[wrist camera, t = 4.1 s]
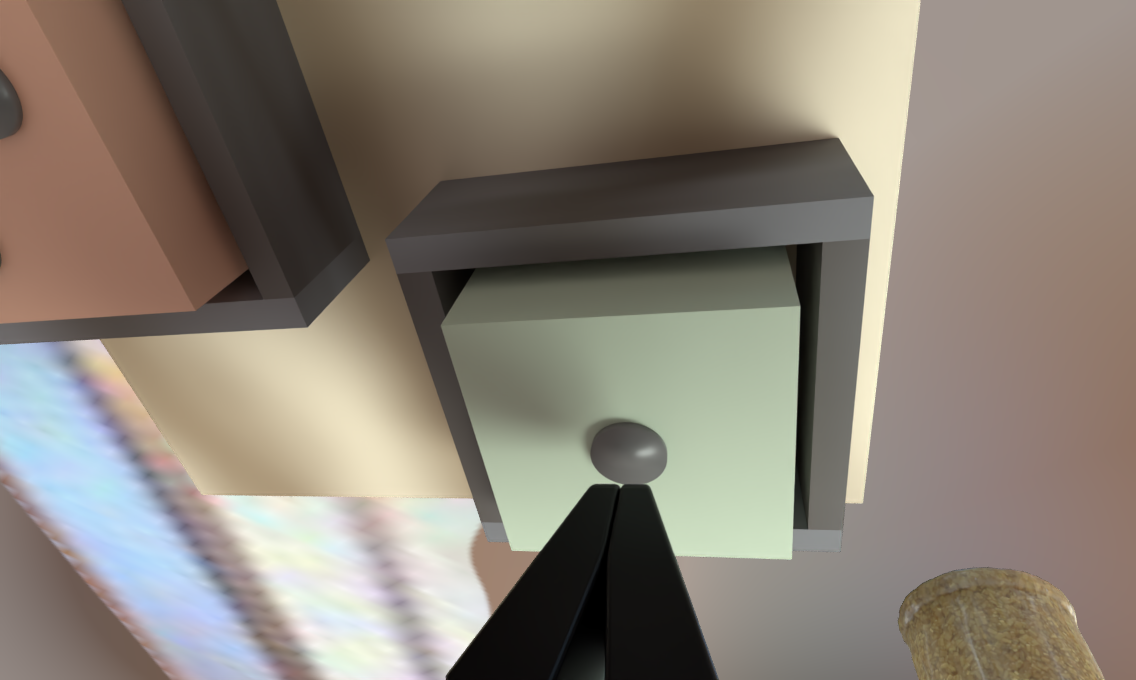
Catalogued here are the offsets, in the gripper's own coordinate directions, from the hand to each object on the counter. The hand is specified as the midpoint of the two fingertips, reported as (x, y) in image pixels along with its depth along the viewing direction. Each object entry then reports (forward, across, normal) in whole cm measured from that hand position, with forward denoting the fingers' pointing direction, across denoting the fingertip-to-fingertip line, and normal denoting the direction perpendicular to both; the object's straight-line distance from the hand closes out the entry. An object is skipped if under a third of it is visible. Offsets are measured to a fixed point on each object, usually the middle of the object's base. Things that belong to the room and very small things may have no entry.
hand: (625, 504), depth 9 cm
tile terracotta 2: (+3, +9, -5) cm, 11 cm away
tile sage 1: (+3, 0, 0) cm, 3 cm away
